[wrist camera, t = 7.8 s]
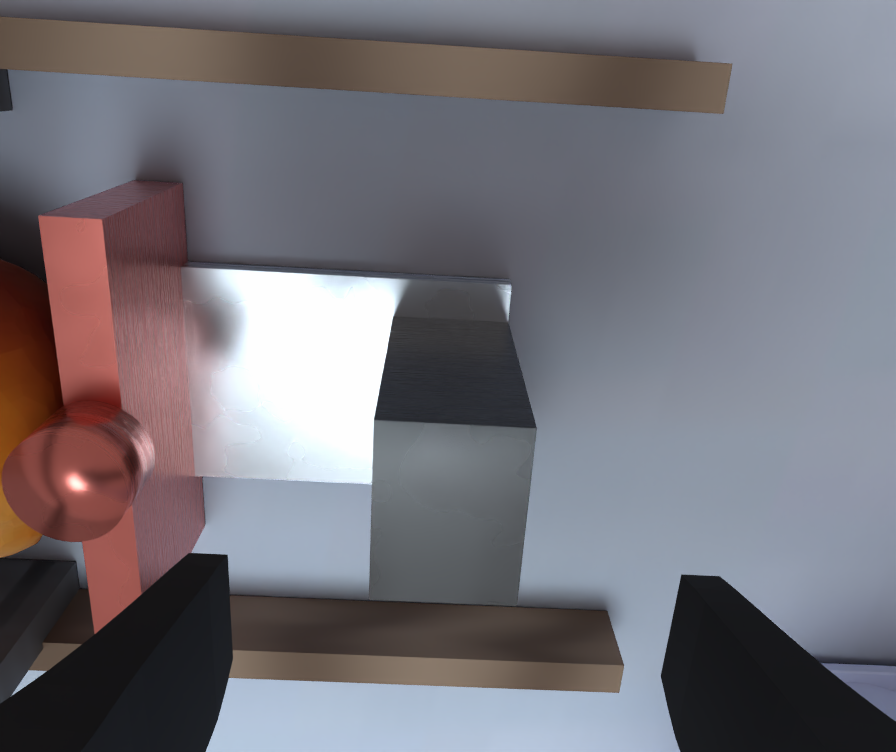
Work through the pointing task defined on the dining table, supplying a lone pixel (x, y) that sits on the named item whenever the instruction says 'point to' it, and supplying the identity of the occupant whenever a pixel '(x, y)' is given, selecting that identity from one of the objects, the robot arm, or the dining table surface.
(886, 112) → the dining table surface
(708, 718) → the robot arm
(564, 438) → the dining table surface
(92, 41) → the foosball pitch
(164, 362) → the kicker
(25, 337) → the fruit
